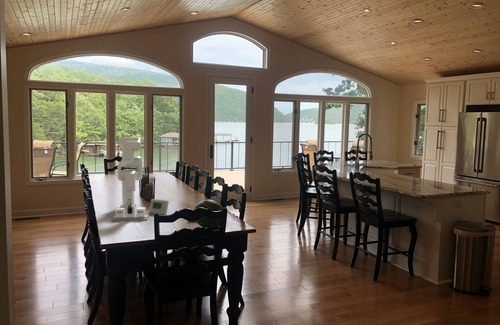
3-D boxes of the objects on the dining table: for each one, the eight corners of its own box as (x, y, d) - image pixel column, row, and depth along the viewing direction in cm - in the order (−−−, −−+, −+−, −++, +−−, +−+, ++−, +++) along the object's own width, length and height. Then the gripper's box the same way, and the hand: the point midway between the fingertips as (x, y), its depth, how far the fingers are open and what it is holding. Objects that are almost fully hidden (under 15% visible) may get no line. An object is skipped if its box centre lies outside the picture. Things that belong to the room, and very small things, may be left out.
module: (127, 215, 302) (126, 205, 301) (135, 215, 303) (135, 204, 302) (126, 217, 297) (125, 206, 296) (134, 217, 298) (134, 206, 297)
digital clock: (147, 212, 318) (147, 199, 317) (156, 210, 326) (156, 197, 324) (162, 216, 309) (162, 202, 308) (170, 213, 317) (170, 200, 315)
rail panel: (115, 216, 304) (114, 206, 304) (148, 216, 308) (148, 206, 307) (111, 221, 292) (111, 210, 291) (146, 220, 295) (146, 210, 294)
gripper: (126, 186, 305) (127, 209, 307) (122, 191, 288) (123, 215, 290) (136, 186, 306) (137, 209, 308) (133, 191, 289) (134, 215, 291)
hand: (130, 212), depth 299 cm, fingers open, 6 cm apart
